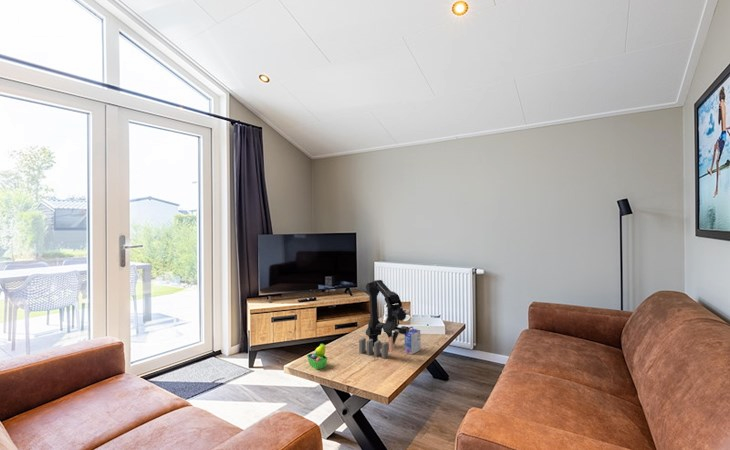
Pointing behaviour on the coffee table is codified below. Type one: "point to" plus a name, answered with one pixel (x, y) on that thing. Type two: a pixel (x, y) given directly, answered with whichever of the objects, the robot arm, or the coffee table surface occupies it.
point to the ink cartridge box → (412, 341)
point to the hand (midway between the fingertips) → (392, 343)
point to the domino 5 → (391, 344)
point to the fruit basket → (318, 357)
